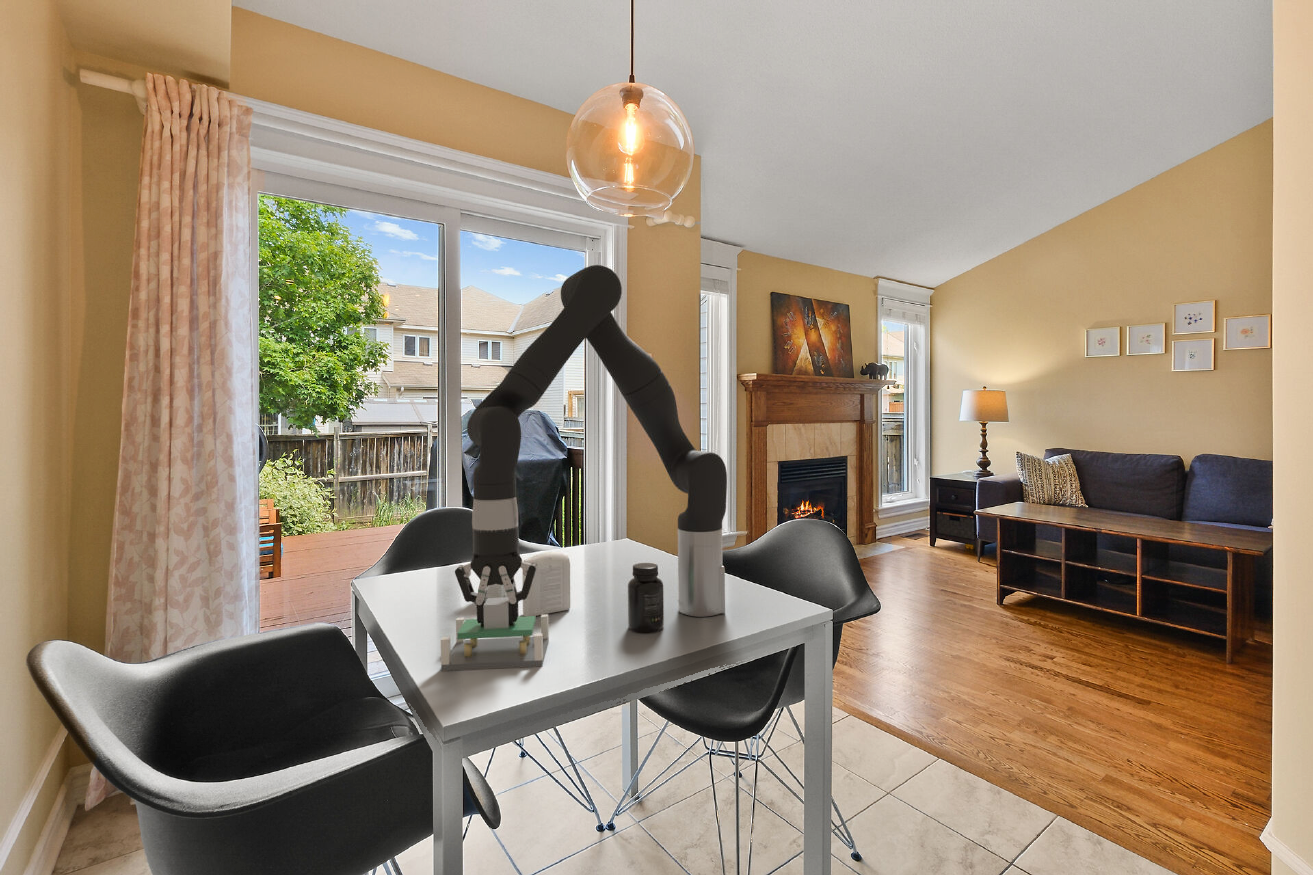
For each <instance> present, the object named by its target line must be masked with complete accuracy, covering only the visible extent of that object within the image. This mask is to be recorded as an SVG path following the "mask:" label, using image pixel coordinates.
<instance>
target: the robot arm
mask: <svg viewBox="0 0 1313 875" xmlns="http://www.w3.org/2000/svg"><path fill="white" fill-rule="evenodd" d="M622 291H623V288H622V283H621V280H620V277H619V276H618V274H617V273H616V272H615V271H614V270H613V269H612V268H610V267H608V266H606V265H604V264H593V265H589V266H586V267H583V268H582V269H581V270H579V271H577V272H575V273H573V274H572V275H570V276H569V277H567V278H566V279H565V280H564V281H563V283H562V285H561V288H560V300H561V301H560V302H561V303H562V306H563V309H562V310H561V312H559V314H558V315H557V316H556V318H554V320H553V321H552V322H551V323H550V325H549V326H548V327H547V328H546V329H544V331H543V332H542V333H541V334H540V335H538V336H537V337H536V339H535V340H534V341H533V342H532V343H530V345H528V347H527V348H526V349H525V350H524V351H523V352H522V353H521V354H520V356H519V358H518V359H517V360H516V362H514V365H512V367H511V368H510V369H509V371H508V372H507V373H506V375H505V376H504V378H503V380H502V381H501V382H500V383H499V384H498V385H497V386H496V387H495V388H494V389H493V390H492V391H491V392H490V393H489V394H488V395H487V396H486V397H485V398H484V399H483V400H482V401H481V402H480V403H479V404H478V405H477V406H476V407H475V409H474V410H473V412H472V413H471V415H470V417H469V418H468V421H467V424H466V431H467V435H468V437H469V439H470V440H471V442H472V443H473V444H475V445H476V446H478V447H480V450H479V451H480V452H479V464H477V465H476V466H475V467H474V469H473V475H472V477H473V478H472V483H473V484H472V485H473V487H472V489H473V504H472V514H471V516H472V518H471V526H472V555H473V556H472V559H471V561H470V563H468V564H464V565H462V564H461V565H459V566H457V567H456V569H455V570H454V574H455V577H456V579H457V582H458V586H459V587H460V590H461V593H462V596H463V599H464V601H465V602H467V603H470V602H471V603H474V604H475V606H476V619H477V622H478V623H481V627H484V607H483V605H484V603H485V602H486V599H487V598H486V595H487V591H488V588H489V585H494V584H499V585H504V588H505V591H506V592H507V595H508V599H509V602H510V603H509V625H514V623H515V622H516V621H517V619H518V617H520V616H519V602H520V601H523V600H525V599H526V598H527V596H528V594H529V591H530V588H531V585H532V581H533V578H534V575H535V572H536V569H537V564H536V563H531V564H530V563H527V562H524V560H523V559H522V557H521V554H520V546H519V543H520V540H519V535H520V534H519V531H520V530H519V508H518V507H519V506H518V503H517V477H516V473H517V472H516V471H517V465H518V461H519V456H520V450H521V443H522V427H521V424H520V423H521V422H520V420H519V417H520V416H522V414H523V413H524V412H525V411H527V410H528V409H531V408H533V407H534V406H535V405H536V404H537V403H538V402H539V401H540V400H541V398H542V397H543V395H544V394H545V392H546V391H547V390H548V388H550V386H551V384H552V382H553V381H554V380H555V379H556V378H557V376H558V374H559V372H560V371H561V370H562V369H563V368H564V366H565V365H566V363H567V362H568V360H569V359H570V358H571V356H572V355H573V354H574V352H576V350H577V349H578V347H580V345H581V344H582V343H583V342H584V340H585V339H586V340H587V341H588V343H589V344H590V345H591V347H592V348H593V350H594V351H595V353H596V354H597V356H598V357H599V359H600V361H601V362H602V364H603V366H604V367H605V369H606V371H607V372H608V374H609V375H610V377H611V378H612V380H613V382H614V383H615V385H616V387H617V389H618V391H619V392H620V393H621V395H622V397H623V399H624V400H625V401H626V404H627V405H628V407H629V409H630V410H631V412H633V415H634V416H635V417H636V419H637V421H638V422H639V424H640V425H641V427H642V429H643V430H644V432H645V433H646V434H647V436H648V438H649V439H650V441H651V443H652V444H653V446H654V447H655V450H656V452H657V454H658V455H659V458H660V459H661V462H662V465H663V466H664V468H665V470H666V472H667V474H668V476H669V479H670V480H671V482H672V483H673V485H674V486H675V488H677V489H678V490H679V491H681V492H682V493H685V494H687V506H686V509H685V510H684V511H683V512H681V513H680V514H679V515H677V566H678V568H677V570H678V571H677V572H678V573H677V574H678V578H677V579H678V587H677V589H678V600H677V602H678V611H679V613H681V614H683V615H687V616H690V617H698V618H699V617H701V618H703V617H713V616H716V615H720V614H726V572H725V571H726V570H725V569H726V568H725V566H724V565H723V521H724V518H725V515H726V510H727V494H728V493H727V491H728V473H727V468H726V464H725V462H724V460H723V458H722V457H721V456H720V455H718V454H717V453H715V452H712V451H705V450H704V451H703V450H697V449H696V448H695V447H694V445H693V444H692V443H691V441H690V440H689V438H688V436H687V435H686V434H685V432H684V430H683V428H682V426H681V422H680V420H679V419H680V418H679V413H678V407H677V406H678V405H677V400H676V396H675V393H674V391H673V388H672V386H671V384H670V382H669V380H668V378H667V377H666V375H665V373H664V372H663V370H662V368H661V367H660V366H659V363H657V362H656V360H655V359H654V358H653V357H652V356H651V355H650V354H649V353H647V352H646V350H644V348H642V347H640V345H638V344H637V343H636V342H634V341H633V340H632V339H631V338H630V336H628V335H627V334H626V333H625V332H624V331H623V329H622V328H621V327H620V325H619V324H618V321H617V320H616V318H615V316H614V315H613V313H612V312H613V310H615V308H616V307H617V306H618V305H619V303H620V301H621V299H622ZM519 569H523V572H522V573H523V575H524V576H526V578H525V581H524V584H523V583H522V587H521V590H519V591H518V589H517V584H516V580H515V575H516V574H517V573H518V571H519ZM472 571H473V573H474V574H475V575H476V576H477V577H478V579H479V580H480V581H479V585H478V588H477V589H478V590H477V592H475V589H474V587H473V585H472V582H471V579H470V576H471V575H472ZM523 575H522V576H523Z"/></svg>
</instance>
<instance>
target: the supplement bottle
mask: <svg viewBox="0 0 1313 875" xmlns="http://www.w3.org/2000/svg"><path fill="white" fill-rule="evenodd" d="M658 566H659V565H658V564H657V563H652V562H640V563H638V562H637V563H635V564H633V565H632V578H631V579H630V580H629V581H628V583H627V620H628V621H627V624H628V628H629V629H630V631H632V632H634V633H639V634H652V633H653V634H654V633H657V632H659V631H661V630H662V629H663V628H664V624H665V616H664V614H665V612H664V611H665V610H664V609H665V608H664V602H665V600H664V582H663V581H662V580H661V578H659V577H658V576H659V567H658Z"/></svg>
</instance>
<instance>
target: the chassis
mask: <svg viewBox="0 0 1313 875" xmlns="http://www.w3.org/2000/svg"><path fill="white" fill-rule="evenodd" d="M465 620H466V619H465V617H457V618H456V619H455V635H456V641H455V642H456V643H455V644H454V645H453V647H452V646H451V637H450V636H449V637H447V636H443V637H442V638H441V639H440V659H441V660H440V662H441V664H440V665H441V667H440V668H441V670H440V671H441V672H449V671H451V672H452V671H467V670H468V671H469V670H487V669H488V670H492V669H513V668H515V669H516V668H536V667H543V665H544V661H545V658H546V653H547V649H548V646H549V643H550V642H549V641H550V640H549V638H550V633H549V613H548V614H542V615H540V633H534V636H519V637H495V638H476V639H457V633H458V632H459V630H460V628H461V627H462V625H463V624H464V622H465ZM451 647H452V648H451Z"/></svg>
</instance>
